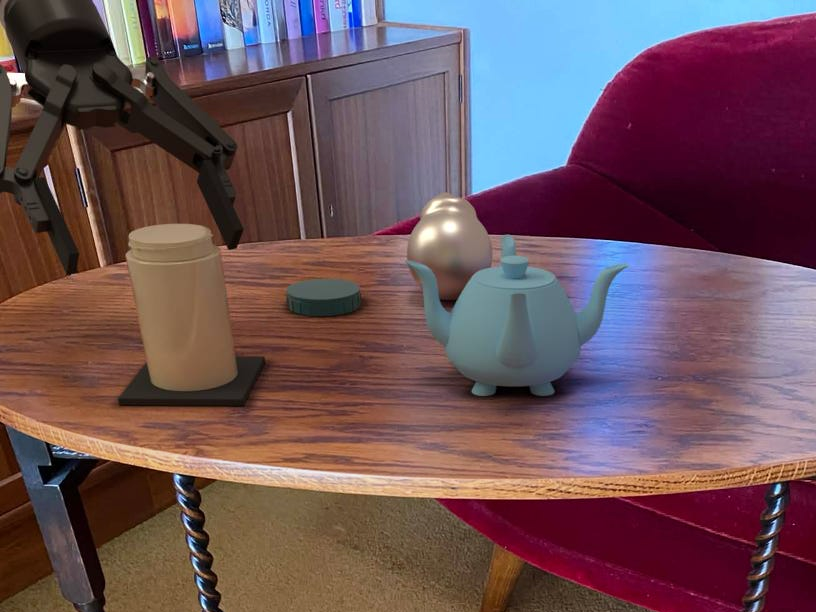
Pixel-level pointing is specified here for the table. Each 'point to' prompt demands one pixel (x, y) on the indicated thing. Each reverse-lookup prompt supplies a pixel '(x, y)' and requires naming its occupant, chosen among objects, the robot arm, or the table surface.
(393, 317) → the table surface
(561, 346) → the teapot
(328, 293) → the jar lid
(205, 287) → the jar
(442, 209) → the shiny gold rounded piece
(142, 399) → the plate
